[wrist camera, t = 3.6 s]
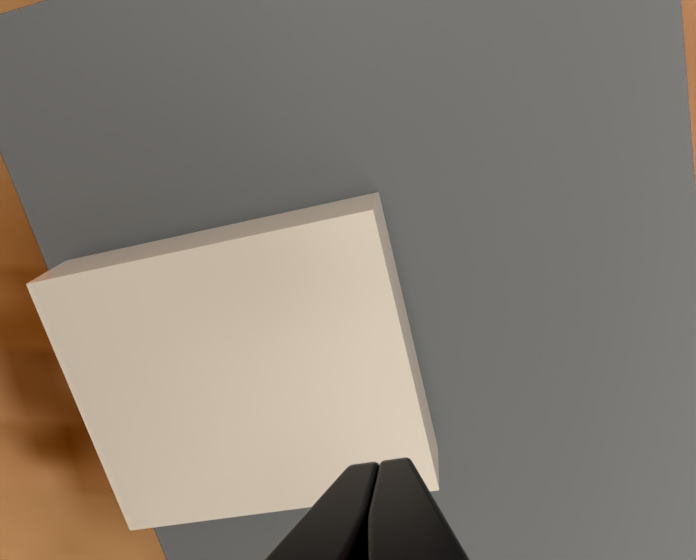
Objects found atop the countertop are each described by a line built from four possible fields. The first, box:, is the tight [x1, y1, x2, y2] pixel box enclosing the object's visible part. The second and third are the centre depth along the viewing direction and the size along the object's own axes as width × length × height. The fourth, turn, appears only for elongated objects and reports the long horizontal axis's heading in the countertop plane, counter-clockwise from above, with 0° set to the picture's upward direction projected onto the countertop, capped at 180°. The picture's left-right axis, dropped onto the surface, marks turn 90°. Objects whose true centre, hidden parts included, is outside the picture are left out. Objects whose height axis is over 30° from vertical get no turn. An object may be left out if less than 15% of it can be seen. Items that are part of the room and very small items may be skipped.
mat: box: [0, 0, 696, 560], centre depth 15 cm, size 18×14×1 cm
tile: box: [26, 192, 439, 531], centre depth 14 cm, size 6×2×7 cm
